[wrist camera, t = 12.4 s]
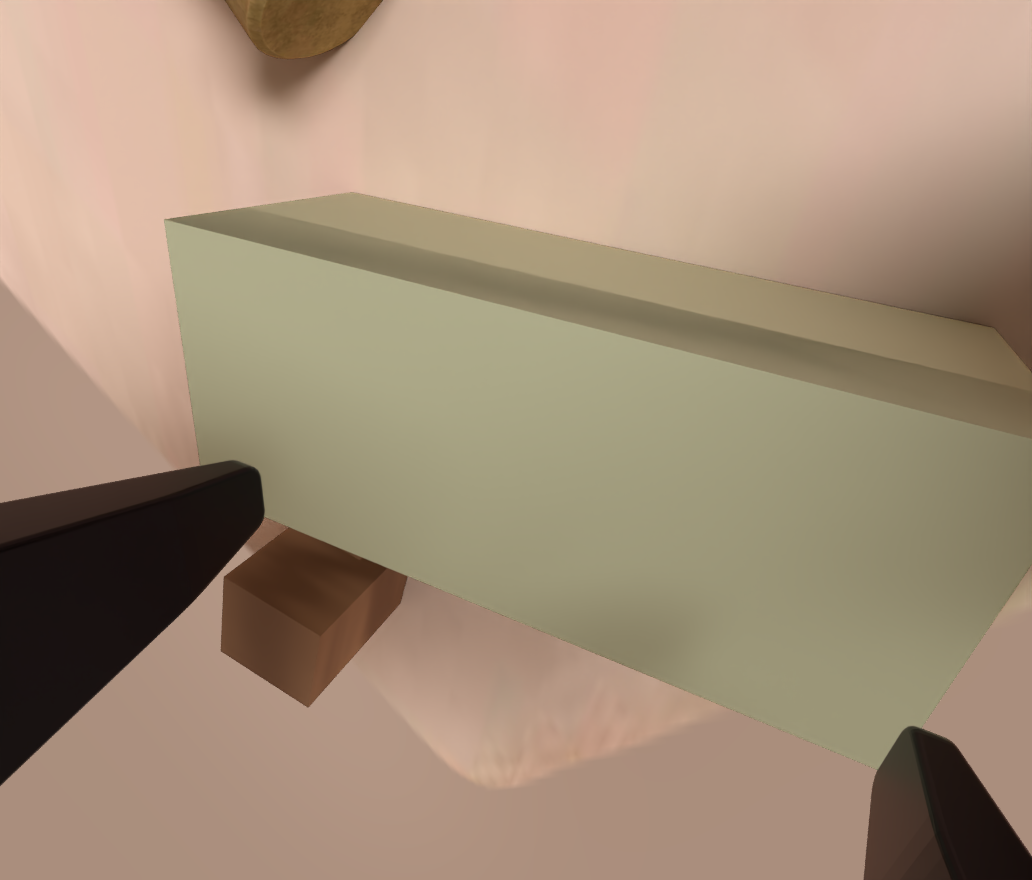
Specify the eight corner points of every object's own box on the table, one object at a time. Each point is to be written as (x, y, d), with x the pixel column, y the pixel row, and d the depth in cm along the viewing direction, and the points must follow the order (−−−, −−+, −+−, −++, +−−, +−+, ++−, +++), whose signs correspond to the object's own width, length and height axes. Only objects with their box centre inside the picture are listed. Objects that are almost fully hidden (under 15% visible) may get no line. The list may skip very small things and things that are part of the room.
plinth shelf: (993, 327, 15) (1103, 457, 9) (868, 572, 18) (890, 774, 13) (351, 192, 20) (163, 219, 14) (353, 402, 24) (204, 492, 18)
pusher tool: (474, 324, 20) (363, 387, 15) (400, 603, 28) (308, 707, 23) (371, 276, 21) (234, 322, 16) (325, 559, 28) (220, 651, 23)
